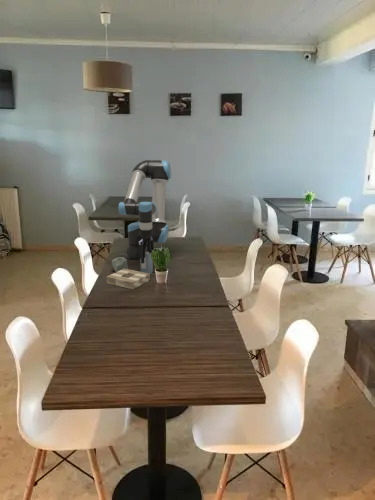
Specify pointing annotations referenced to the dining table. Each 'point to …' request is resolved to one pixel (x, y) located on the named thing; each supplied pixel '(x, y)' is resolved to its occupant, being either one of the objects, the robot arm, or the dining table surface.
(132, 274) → the hub block
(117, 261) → the decorative stone
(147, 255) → the keyed peg
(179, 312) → the dining table surface
